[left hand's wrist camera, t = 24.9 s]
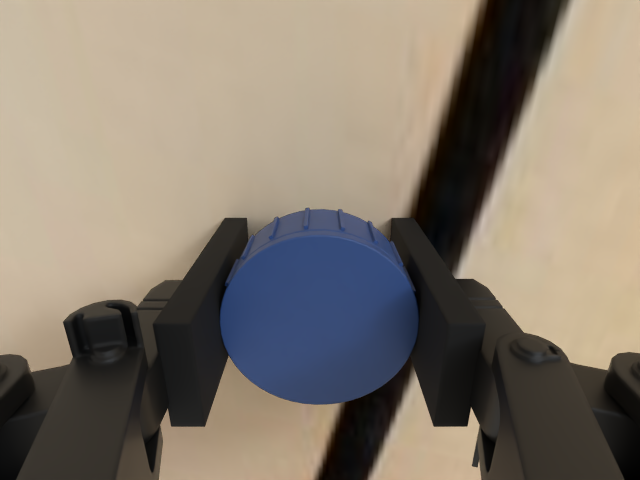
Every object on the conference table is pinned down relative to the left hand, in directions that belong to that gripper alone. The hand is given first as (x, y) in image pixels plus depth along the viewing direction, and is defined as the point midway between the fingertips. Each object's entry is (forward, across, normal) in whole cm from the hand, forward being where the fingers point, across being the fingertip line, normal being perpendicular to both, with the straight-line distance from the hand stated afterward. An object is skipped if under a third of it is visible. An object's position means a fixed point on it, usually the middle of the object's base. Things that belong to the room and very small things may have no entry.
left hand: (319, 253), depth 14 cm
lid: (-4, 0, 0) cm, 4 cm away
